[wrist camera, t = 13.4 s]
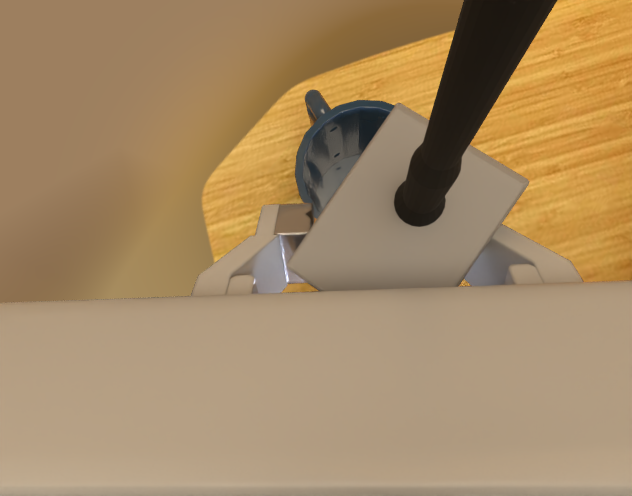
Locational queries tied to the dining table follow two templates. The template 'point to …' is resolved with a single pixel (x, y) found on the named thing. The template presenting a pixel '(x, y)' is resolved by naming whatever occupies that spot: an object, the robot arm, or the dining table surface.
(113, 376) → the robot arm
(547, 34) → the dining table surface
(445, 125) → the vintage mobile phone
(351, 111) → the dark grey mug
